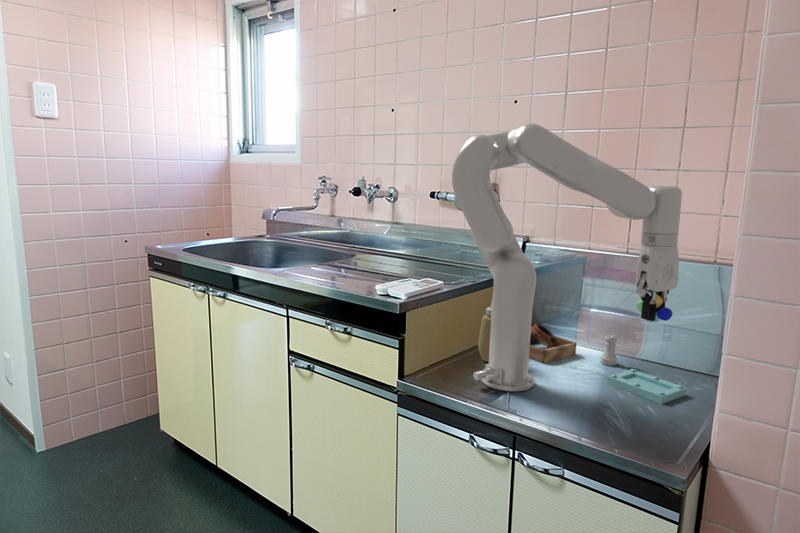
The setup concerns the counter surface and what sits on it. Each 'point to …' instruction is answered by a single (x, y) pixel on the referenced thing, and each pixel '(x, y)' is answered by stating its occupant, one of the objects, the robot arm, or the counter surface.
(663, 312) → the multicolored ball cluster
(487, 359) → the squeeze bottle
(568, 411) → the counter surface
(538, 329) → the pottery mug
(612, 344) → the rook chess piece
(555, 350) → the tray
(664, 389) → the baseplate
